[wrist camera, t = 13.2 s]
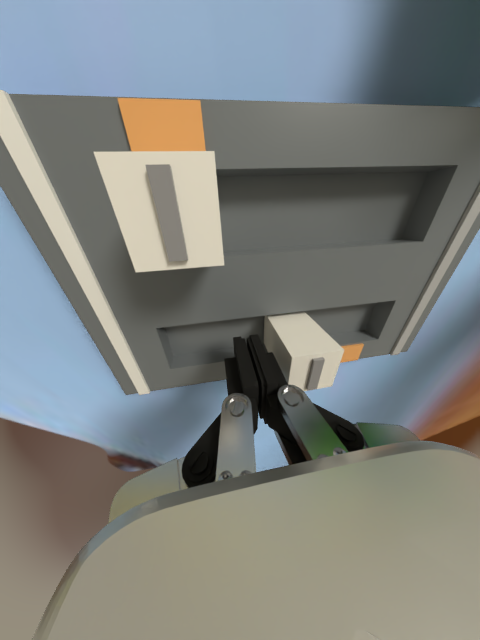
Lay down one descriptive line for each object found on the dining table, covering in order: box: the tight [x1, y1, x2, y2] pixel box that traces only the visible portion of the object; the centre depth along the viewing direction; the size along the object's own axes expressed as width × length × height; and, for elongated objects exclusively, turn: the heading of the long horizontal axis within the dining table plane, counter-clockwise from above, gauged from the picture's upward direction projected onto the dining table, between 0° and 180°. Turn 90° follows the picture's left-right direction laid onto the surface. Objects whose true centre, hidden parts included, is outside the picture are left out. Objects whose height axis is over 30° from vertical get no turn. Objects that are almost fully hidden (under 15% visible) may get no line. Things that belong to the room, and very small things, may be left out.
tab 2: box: [264, 311, 344, 391], centre depth 12 cm, size 3×3×5 cm
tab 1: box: [94, 151, 224, 272], centre depth 7 cm, size 3×3×5 cm
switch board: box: [0, 90, 480, 395], centre depth 12 cm, size 26×16×3 cm, turn 93°
